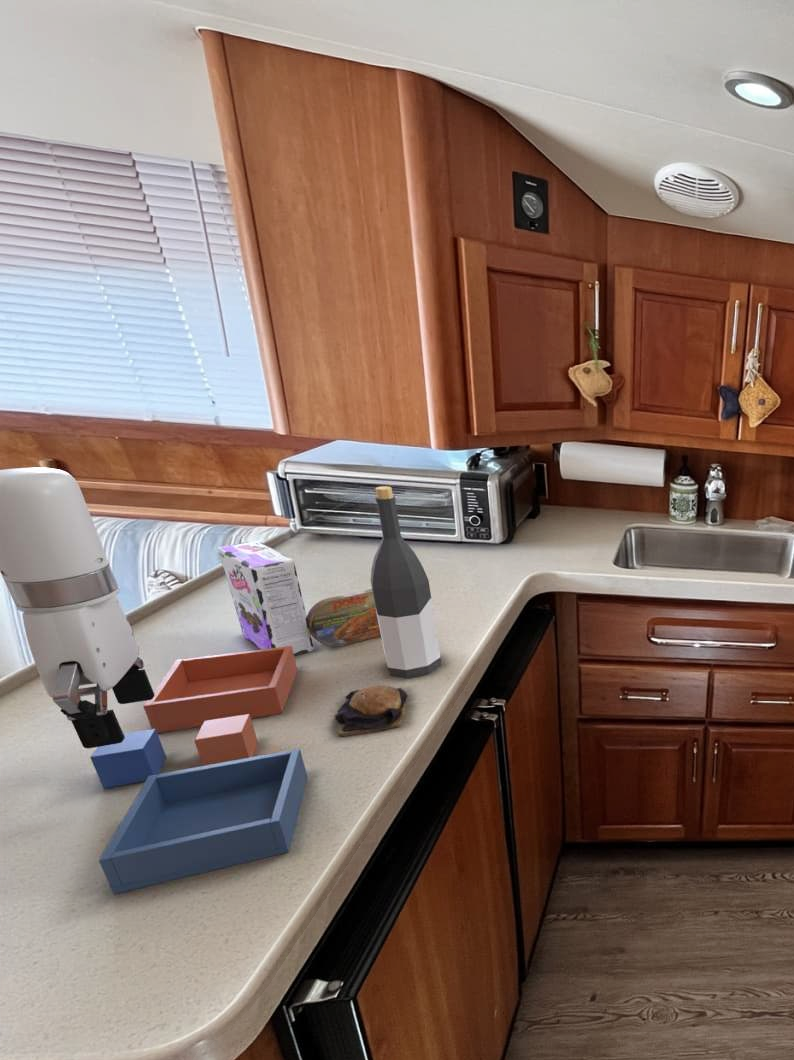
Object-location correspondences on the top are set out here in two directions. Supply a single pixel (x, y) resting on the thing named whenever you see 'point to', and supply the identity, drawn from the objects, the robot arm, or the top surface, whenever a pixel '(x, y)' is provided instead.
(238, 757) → the terracotta block
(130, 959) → the top surface
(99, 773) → the blue block
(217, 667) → the terracotta bin
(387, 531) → the wine bottle
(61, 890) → the top surface
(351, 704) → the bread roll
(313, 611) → the tin
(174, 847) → the blue bin
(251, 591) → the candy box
